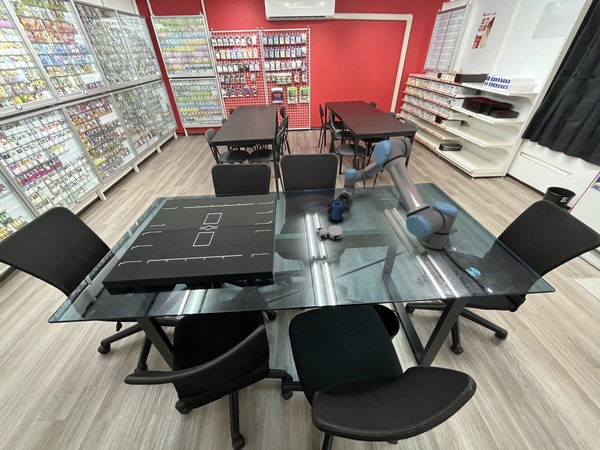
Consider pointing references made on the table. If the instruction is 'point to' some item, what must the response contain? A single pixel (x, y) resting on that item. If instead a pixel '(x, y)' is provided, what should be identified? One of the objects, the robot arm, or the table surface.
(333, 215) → the blue sleeve
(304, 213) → the table surface
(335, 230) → the robot toy
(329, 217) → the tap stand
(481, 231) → the table surface
